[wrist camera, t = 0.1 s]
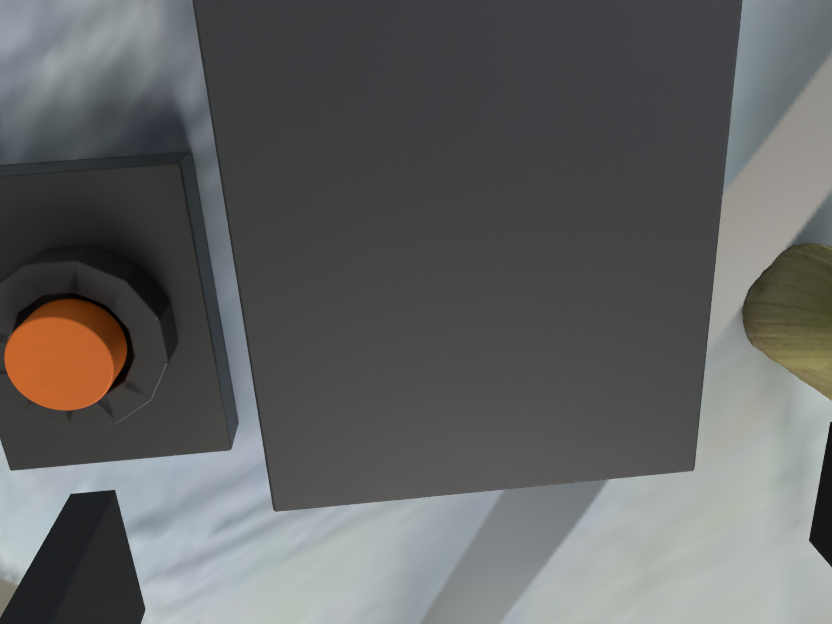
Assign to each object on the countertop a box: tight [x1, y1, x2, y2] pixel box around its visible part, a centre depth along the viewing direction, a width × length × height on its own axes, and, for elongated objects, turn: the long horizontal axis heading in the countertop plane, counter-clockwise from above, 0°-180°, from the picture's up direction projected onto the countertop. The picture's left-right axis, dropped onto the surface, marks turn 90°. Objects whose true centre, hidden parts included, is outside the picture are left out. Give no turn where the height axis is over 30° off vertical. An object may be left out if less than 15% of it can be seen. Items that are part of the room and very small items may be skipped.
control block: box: [0, 152, 238, 471], centre depth 29 cm, size 12×9×4 cm
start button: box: [4, 298, 127, 410], centre depth 26 cm, size 4×4×2 cm
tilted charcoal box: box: [192, 0, 742, 512], centre depth 25 cm, size 16×14×10 cm
